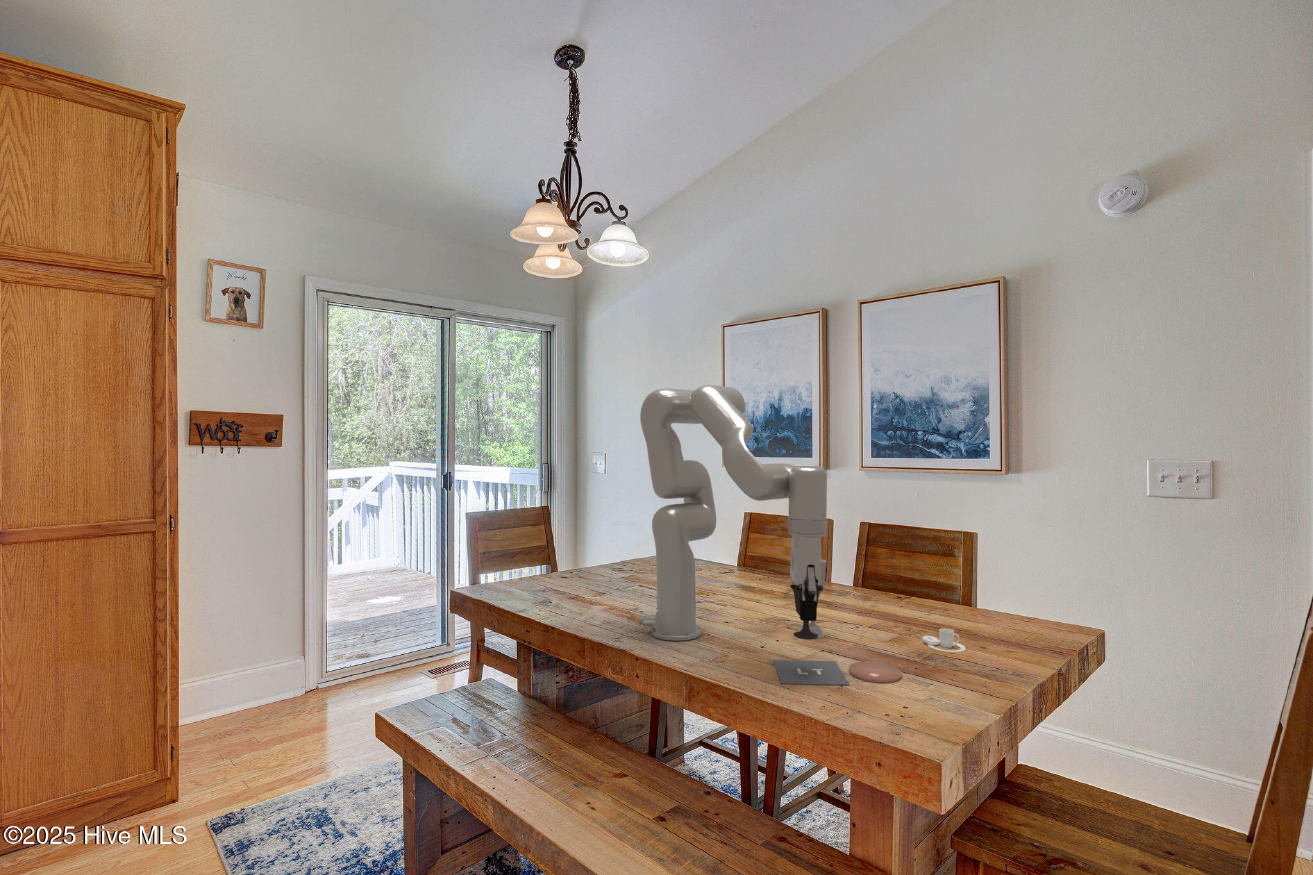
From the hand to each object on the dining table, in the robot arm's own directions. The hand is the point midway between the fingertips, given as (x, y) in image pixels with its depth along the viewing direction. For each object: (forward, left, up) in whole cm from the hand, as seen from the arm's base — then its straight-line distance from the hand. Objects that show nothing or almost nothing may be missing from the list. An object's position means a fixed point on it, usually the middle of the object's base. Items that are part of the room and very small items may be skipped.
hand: (805, 615), depth 129 cm
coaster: (+14, 0, -11) cm, 18 cm away
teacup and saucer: (+35, +21, -12) cm, 42 cm away
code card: (+1, 0, -11) cm, 11 cm away
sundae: (0, 0, -4) cm, 4 cm away
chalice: (+6, +25, -12) cm, 28 cm away
